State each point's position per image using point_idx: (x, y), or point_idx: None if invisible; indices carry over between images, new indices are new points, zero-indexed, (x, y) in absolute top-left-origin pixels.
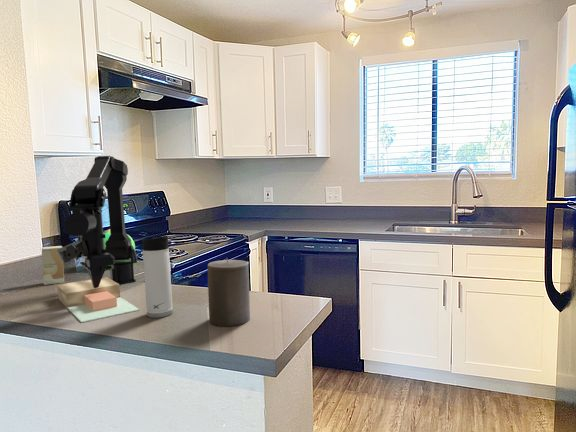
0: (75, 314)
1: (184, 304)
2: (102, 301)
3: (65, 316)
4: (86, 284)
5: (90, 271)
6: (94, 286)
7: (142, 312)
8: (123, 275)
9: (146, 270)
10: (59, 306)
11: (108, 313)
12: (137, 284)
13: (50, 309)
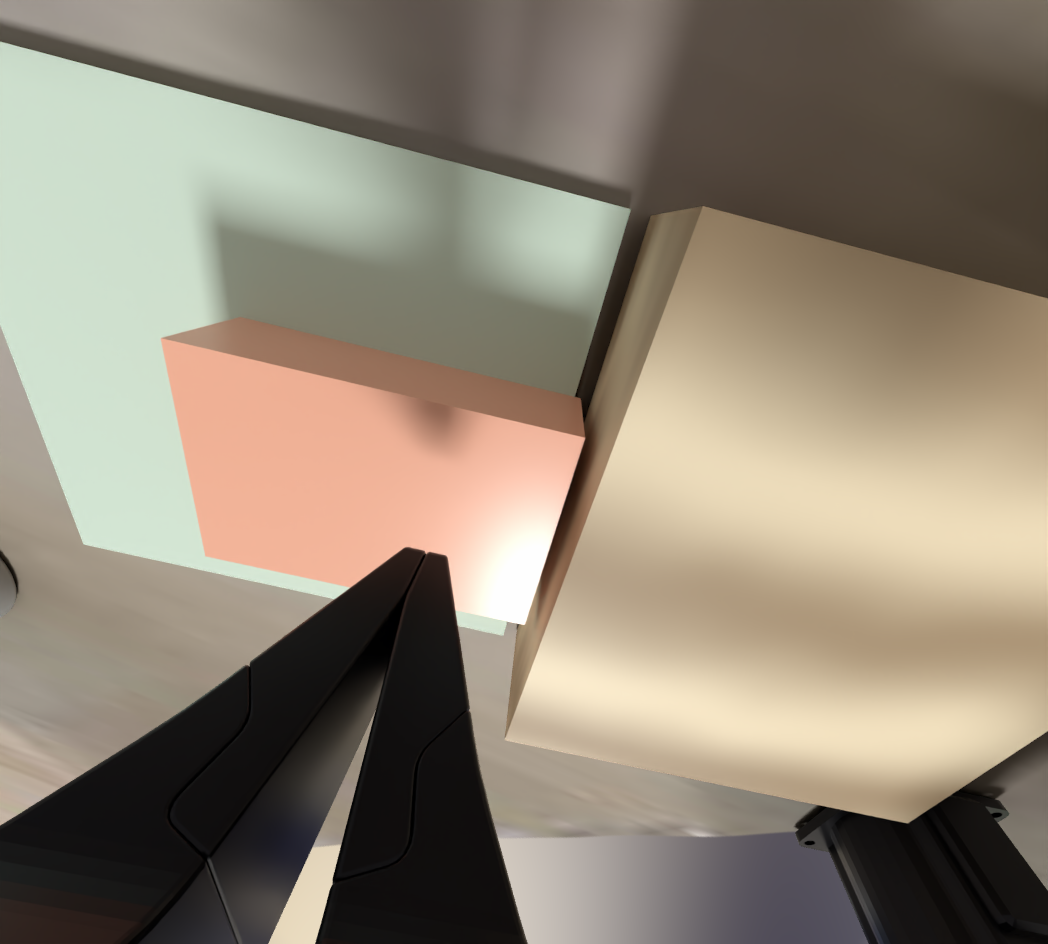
0: (245, 118)
1: (87, 696)
2: (192, 434)
3: (312, 3)
4: (873, 630)
5: (29, 823)
6: (393, 561)
7: (31, 526)
8: (878, 869)
9: None
10: (834, 187)
11: (84, 367)
12: (722, 804)
13: (841, 10)
